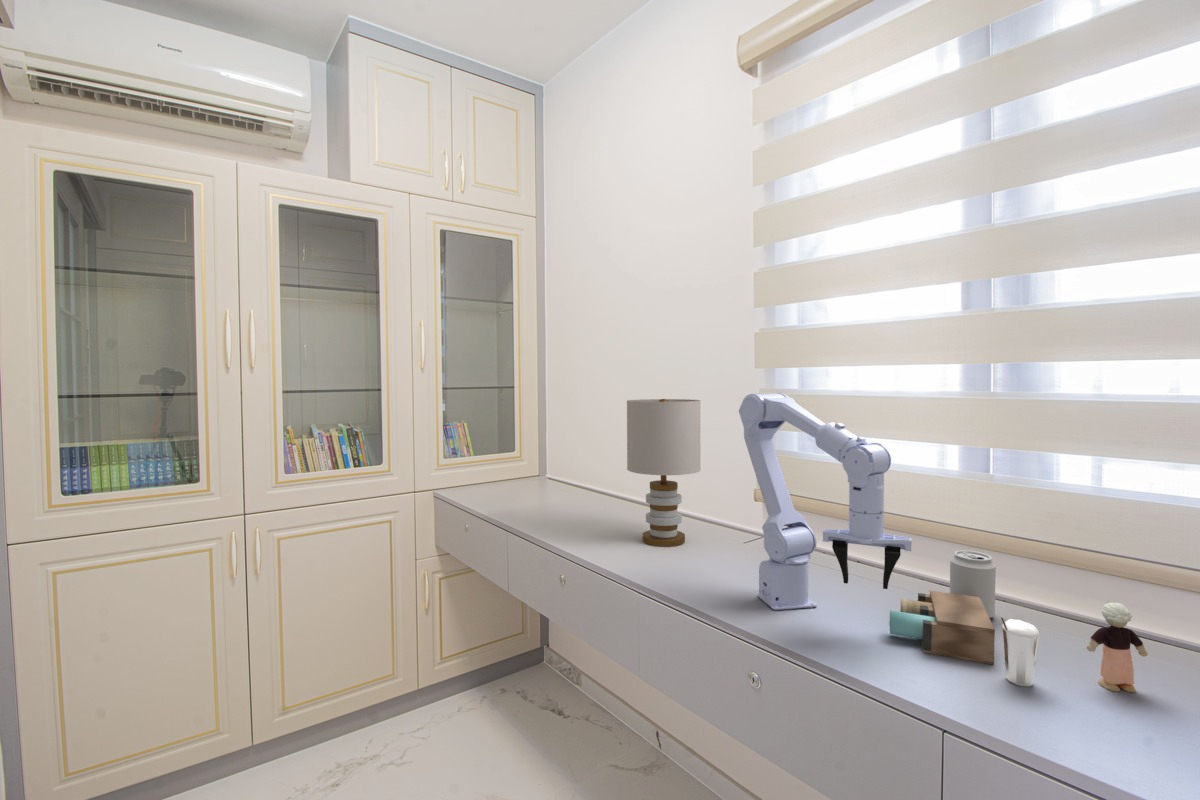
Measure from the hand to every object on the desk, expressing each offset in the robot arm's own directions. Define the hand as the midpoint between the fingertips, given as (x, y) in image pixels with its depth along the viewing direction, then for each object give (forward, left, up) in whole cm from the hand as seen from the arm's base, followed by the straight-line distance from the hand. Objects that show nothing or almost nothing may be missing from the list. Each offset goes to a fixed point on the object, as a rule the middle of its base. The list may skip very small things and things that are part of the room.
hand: (865, 584), depth 103 cm
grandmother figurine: (+25, -23, -9) cm, 35 cm away
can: (+26, +4, -9) cm, 27 cm away
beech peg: (+13, -1, -8) cm, 15 cm away
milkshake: (+13, -19, -9) cm, 25 cm away
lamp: (-20, +64, -9) cm, 68 cm away
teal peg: (+7, -5, -8) cm, 12 cm away
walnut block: (+14, -5, -9) cm, 17 cm away
